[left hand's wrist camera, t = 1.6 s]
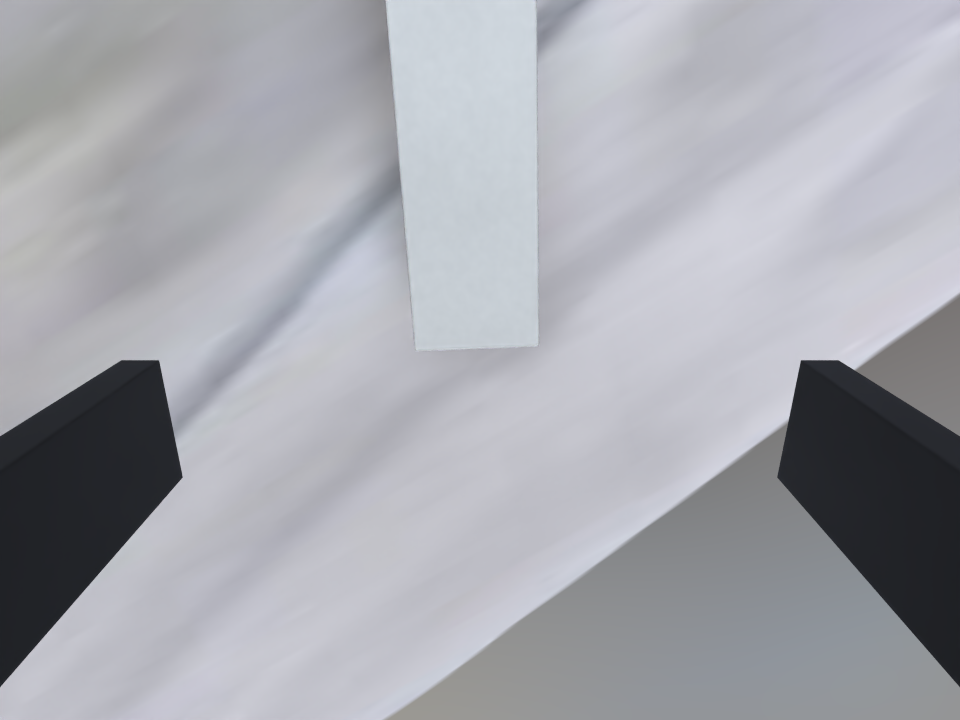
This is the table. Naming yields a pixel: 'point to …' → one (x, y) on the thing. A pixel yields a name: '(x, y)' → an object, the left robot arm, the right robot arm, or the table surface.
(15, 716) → the table surface
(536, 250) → the post
